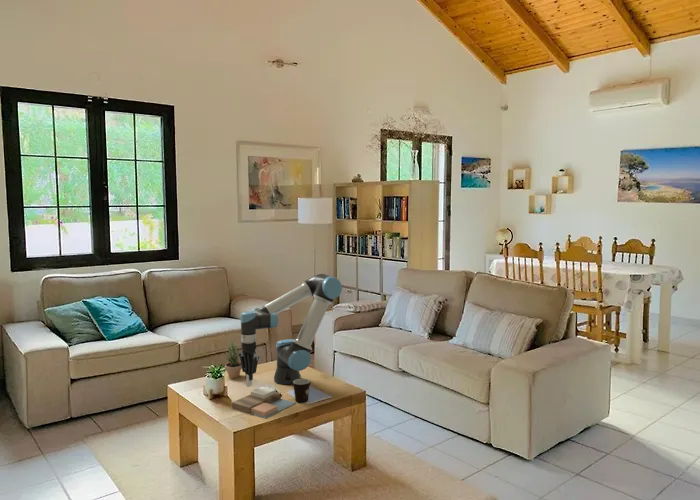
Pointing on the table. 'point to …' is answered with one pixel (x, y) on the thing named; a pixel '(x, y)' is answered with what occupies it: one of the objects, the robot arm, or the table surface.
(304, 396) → the coffee mug
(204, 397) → the table surface
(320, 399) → the table surface
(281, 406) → the slate mat
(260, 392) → the cream coaster
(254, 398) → the walnut board
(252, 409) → the terracotta coaster
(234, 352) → the potted plant
